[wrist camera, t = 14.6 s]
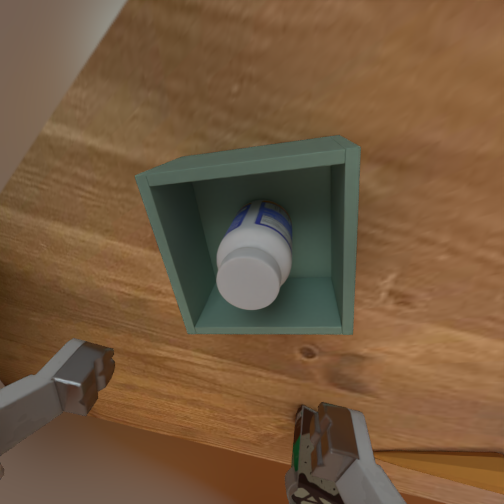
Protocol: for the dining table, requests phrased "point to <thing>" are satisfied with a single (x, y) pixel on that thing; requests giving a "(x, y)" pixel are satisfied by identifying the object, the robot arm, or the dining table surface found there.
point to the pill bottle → (255, 255)
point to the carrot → (453, 466)
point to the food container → (307, 468)
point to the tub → (224, 211)
